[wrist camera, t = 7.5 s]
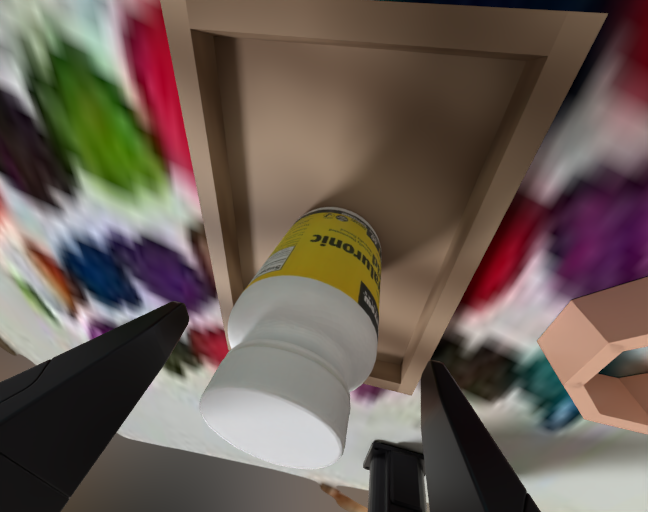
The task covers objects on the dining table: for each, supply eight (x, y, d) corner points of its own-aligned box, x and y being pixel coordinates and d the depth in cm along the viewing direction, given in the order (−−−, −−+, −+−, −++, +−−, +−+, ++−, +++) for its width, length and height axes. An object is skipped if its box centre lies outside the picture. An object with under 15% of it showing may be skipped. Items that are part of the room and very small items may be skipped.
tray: (409, 364, 20) (411, 395, 18) (243, 325, 22) (228, 349, 20) (558, 31, 9) (608, 13, 7) (201, 8, 11) (157, -12, 9)
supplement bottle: (402, 256, 14) (420, 476, 6) (331, 297, 17) (278, 487, 9) (337, 181, 13) (247, 337, 5) (271, 239, 15) (141, 402, 7)
